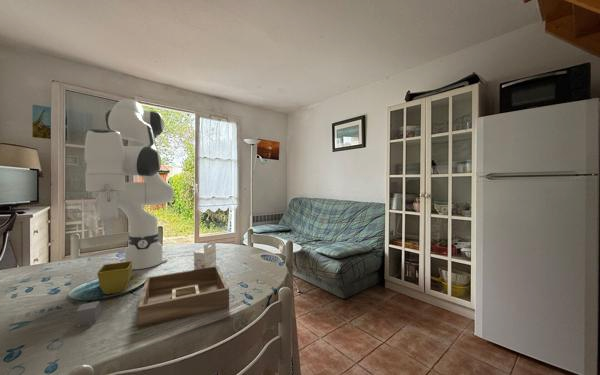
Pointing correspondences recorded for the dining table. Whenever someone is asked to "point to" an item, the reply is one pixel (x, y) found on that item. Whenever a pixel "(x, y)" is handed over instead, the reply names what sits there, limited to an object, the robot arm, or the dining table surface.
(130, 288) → the dining table surface
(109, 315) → the dining table surface
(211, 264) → the ink cartridge box
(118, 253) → the dining table surface
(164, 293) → the walled box
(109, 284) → the flower pot
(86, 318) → the plain grey cube
